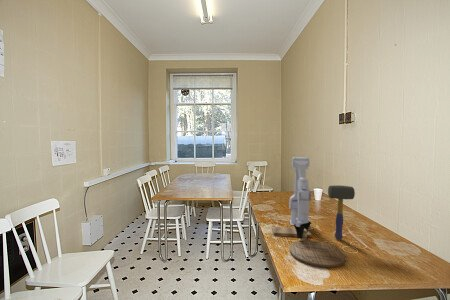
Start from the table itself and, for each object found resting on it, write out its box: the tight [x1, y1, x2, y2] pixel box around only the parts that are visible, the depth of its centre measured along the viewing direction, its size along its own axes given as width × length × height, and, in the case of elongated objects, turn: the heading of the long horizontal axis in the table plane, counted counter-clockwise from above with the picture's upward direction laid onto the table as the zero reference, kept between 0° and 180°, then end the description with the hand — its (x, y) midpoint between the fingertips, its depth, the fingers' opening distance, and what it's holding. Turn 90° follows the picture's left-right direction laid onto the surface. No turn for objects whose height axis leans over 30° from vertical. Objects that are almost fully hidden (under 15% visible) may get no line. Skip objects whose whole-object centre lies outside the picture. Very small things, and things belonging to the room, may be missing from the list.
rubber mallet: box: [327, 184, 356, 241], centre depth 136 cm, size 12×8×30 cm, turn 82°
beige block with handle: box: [298, 229, 308, 241], centre depth 138 cm, size 4×14×6 cm, turn 177°
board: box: [271, 226, 313, 238], centre depth 143 cm, size 21×9×2 cm, turn 86°
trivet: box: [289, 239, 347, 269], centre depth 118 cm, size 25×25×2 cm
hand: (302, 236), depth 135 cm, fingers open, 6 cm apart
